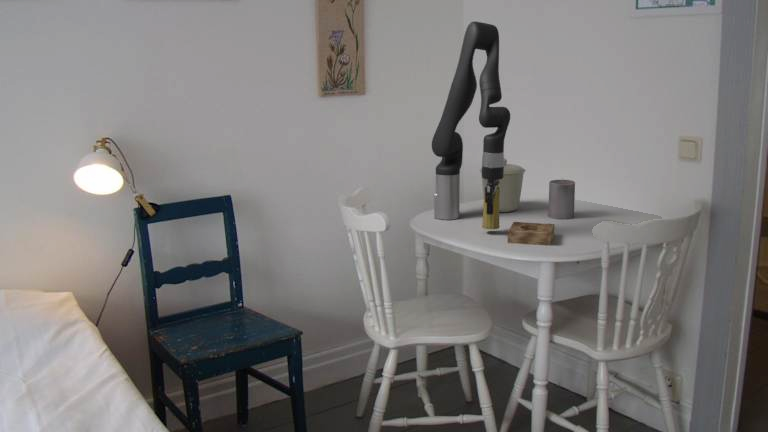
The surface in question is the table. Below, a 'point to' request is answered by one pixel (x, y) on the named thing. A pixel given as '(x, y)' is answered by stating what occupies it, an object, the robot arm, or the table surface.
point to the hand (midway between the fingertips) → (491, 212)
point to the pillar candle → (561, 199)
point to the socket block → (531, 233)
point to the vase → (493, 219)
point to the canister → (509, 187)
